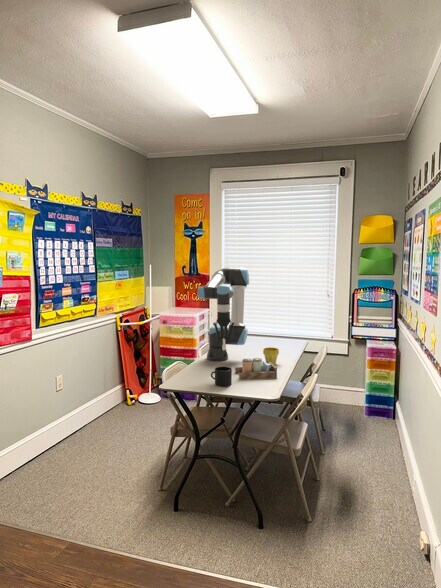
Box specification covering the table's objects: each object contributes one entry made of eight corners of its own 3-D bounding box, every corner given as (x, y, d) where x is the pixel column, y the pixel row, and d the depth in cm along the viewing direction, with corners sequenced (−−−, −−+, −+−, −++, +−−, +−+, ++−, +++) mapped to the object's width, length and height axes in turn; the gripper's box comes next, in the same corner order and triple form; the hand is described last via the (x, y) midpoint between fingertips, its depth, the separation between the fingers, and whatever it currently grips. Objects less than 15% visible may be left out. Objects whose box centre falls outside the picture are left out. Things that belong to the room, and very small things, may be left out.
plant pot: (266, 365, 268) (266, 351, 267) (260, 361, 278) (261, 347, 277) (281, 364, 270) (281, 350, 270) (274, 360, 280) (275, 346, 279)
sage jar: (253, 376, 243) (253, 360, 242) (251, 373, 249) (251, 358, 248) (263, 376, 244) (263, 360, 243) (260, 373, 250) (260, 357, 249)
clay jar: (253, 376, 243) (253, 360, 242) (243, 377, 242) (243, 361, 241) (250, 374, 249) (250, 358, 248) (241, 374, 248) (241, 358, 247)
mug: (213, 380, 235) (213, 365, 234) (233, 382, 231) (233, 367, 231) (208, 385, 226) (208, 369, 226) (228, 387, 222) (228, 371, 222)
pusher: (267, 376, 241) (267, 365, 241) (262, 371, 252) (262, 360, 252) (272, 376, 242) (272, 365, 241) (268, 371, 253) (268, 360, 252)
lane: (239, 379, 237) (239, 369, 237) (235, 372, 251) (235, 363, 251) (276, 377, 240) (276, 367, 240) (270, 371, 255) (270, 361, 254)
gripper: (213, 312, 237) (214, 351, 240) (235, 311, 239) (235, 350, 242) (211, 310, 245) (212, 348, 248) (233, 309, 247) (233, 347, 249)
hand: (223, 349), depth 245 cm, fingers closed
